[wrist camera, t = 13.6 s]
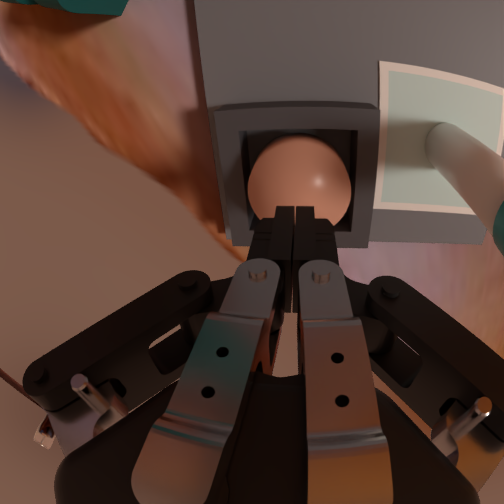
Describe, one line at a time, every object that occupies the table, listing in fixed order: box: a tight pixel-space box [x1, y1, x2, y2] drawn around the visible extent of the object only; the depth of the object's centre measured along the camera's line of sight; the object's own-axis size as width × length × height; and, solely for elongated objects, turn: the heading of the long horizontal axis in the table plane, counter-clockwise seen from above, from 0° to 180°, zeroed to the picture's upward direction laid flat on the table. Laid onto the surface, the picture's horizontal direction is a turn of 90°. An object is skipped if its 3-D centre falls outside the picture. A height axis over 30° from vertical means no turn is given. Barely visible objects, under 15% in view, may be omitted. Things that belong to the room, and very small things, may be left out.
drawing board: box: [194, 0, 504, 248], centre depth 13 cm, size 20×19×3 cm
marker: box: [425, 123, 504, 256], centre depth 10 cm, size 3×3×10 cm
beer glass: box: [33, 414, 55, 449], centre depth 71 cm, size 7×7×15 cm
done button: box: [248, 133, 351, 225], centre depth 15 cm, size 5×5×2 cm
